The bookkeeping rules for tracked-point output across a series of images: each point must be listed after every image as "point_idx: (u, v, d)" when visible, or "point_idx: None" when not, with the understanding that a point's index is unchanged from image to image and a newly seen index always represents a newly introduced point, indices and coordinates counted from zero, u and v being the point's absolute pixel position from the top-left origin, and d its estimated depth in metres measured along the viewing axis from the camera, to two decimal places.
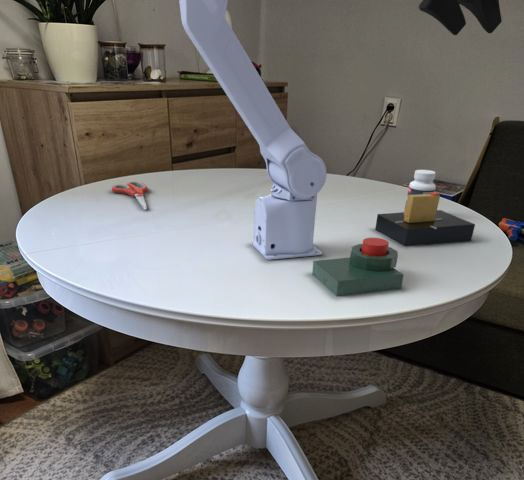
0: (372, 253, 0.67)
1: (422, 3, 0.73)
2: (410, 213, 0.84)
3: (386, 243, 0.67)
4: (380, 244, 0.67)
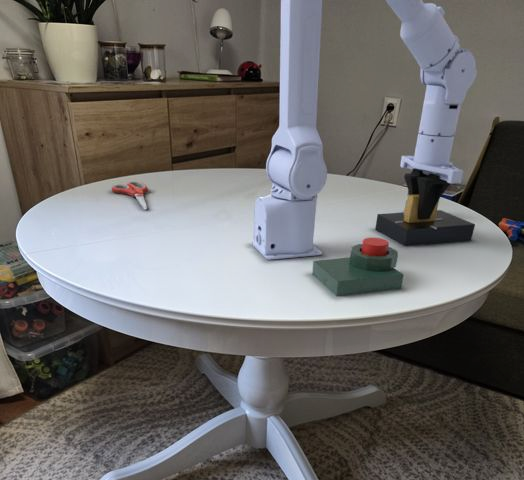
0: (372, 253, 0.67)
1: (408, 174, 0.85)
2: (410, 213, 0.84)
3: (386, 243, 0.67)
4: (380, 244, 0.67)
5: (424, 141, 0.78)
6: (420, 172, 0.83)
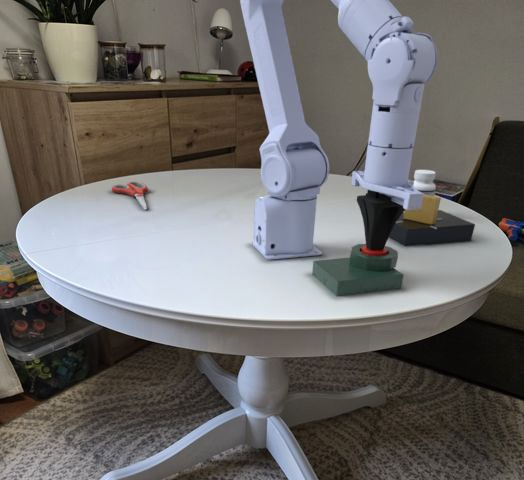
0: None
1: (362, 196, 0.66)
2: (436, 213, 0.85)
3: (385, 250, 0.68)
4: (379, 251, 0.67)
5: (374, 155, 0.61)
6: (373, 193, 0.66)
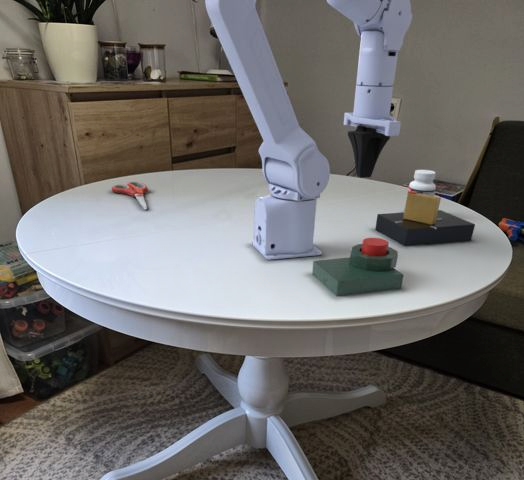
0: (372, 253, 0.67)
1: (352, 131, 0.80)
2: (436, 213, 0.85)
3: (386, 243, 0.67)
4: (380, 244, 0.67)
5: (361, 93, 0.74)
6: (361, 128, 0.79)
